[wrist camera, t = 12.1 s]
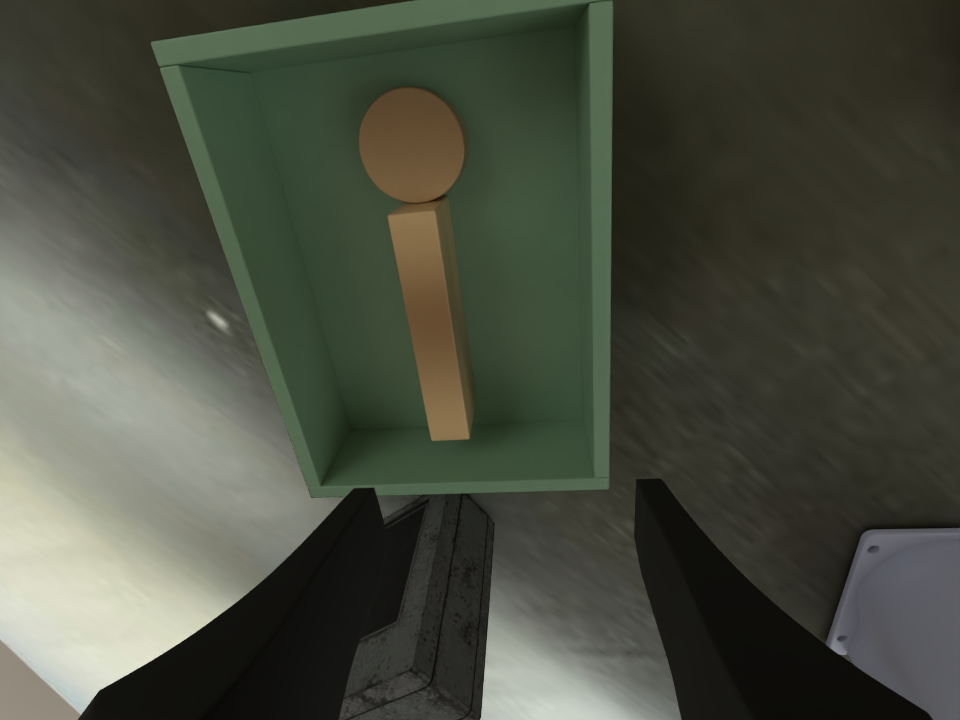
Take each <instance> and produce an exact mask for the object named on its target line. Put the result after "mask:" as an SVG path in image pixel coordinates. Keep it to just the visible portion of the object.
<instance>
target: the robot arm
mask: <svg viewBox="0 0 960 720" xmlns="http://www.w3.org/2000/svg"><path fill="white" fill-rule="evenodd" d="M634 537H635V543H636V548H637V553H638V559H639V564H640V569H641V574H642V577H643V581H644V584H645V587H646V590H647V594H648V597H649V600H650V604H651V607H652V610H653V613H654V617H655V620H656V623H657V626H658V630H659V633H660V636H661V639H662V642H663V646H664V649H665V652H666V655H667V659H668V662H669V666H670V670H671V674H672V677H673V682H674V686H675V691H676V696H677V700H678V705H679V710H680V714H681V719H682V720H960V528H926V529H873V530H868V531H866V532H864V533H863V534H862V536H861V538H860V541H859V544H858V547H857V550H856V553H855V556H854V559H853V562H852V565H851V568H850V571H849V574H848V577H847V580H846V583H845V587H844V590H843V593H842V596H841V599H840V602H839V605H838V608H837V611H836V614H835V617H834V620H833V623H832V626H831V629H830V632H829V635H828V638H827V641H826V644H824V643H823V642H822V641H820V640H819V639H818V638H816V637H815V636H814V635H813V634H811V633H810V632H809V631H807V630H806V629H805V628H804V627H802V626H801V625H800V624H798V623H797V622H796V621H794V620H793V619H792V618H791V617H790V616H789V615H787V614H786V613H785V612H784V611H783V610H781V609H780V608H779V607H778V606H777V605H776V604H774V603H773V602H772V601H771V600H770V599H769V598H768V597H767V596H765V595H764V594H763V593H762V592H761V591H760V590H759V589H758V588H757V587H756V586H754V585H753V584H752V583H751V582H750V581H749V580H748V579H747V578H746V577H745V576H744V575H743V574H742V573H741V572H740V571H739V570H738V569H737V568H736V567H735V566H734V565H733V564H732V563H731V562H730V561H729V560H728V559H727V558H726V557H725V556H724V555H723V553H722V552H721V551H720V550H719V549H718V548H717V547H716V546H715V545H714V544H713V542H712V541H711V540H710V539H709V538H708V537H707V536H706V534H705V533H704V532H703V531H702V530H701V529H700V528H699V526H698V525H697V524H696V523H695V522H694V520H693V519H692V518H691V517H690V516H689V514H688V513H687V512H686V511H685V509H684V508H683V507H682V506H681V504H680V503H679V502H678V500H677V499H676V498H675V496H674V495H673V494H672V492H671V491H670V490H669V488H668V487H667V485H666V484H665V482H663V481H662V480H661V479H636V501H635V530H634ZM388 541H389V539H388V536H387V532H386V528H385V525H384V521H383V517H382V514H381V510H380V506H379V503H378V499H377V496H376V492H375V488H354V489H353V490H352V491H351V492H350V493H349V494H348V495H347V496H346V497H345V498H344V499H343V500H342V501H341V502H340V503H339V505H338V506H337V507H336V508H335V509H334V510H333V511H332V512H331V513H330V514H329V515H328V516H327V518H326V519H325V520H324V521H323V522H322V523H321V524H320V525H319V526H318V527H317V528H316V529H315V530H314V531H313V533H312V534H311V535H310V536H309V537H308V538H307V539H306V540H305V541H304V542H303V543H302V544H301V545H300V546H299V547H298V548H297V549H296V550H295V551H294V552H293V553H292V554H291V555H290V556H289V557H288V558H287V559H286V560H285V561H284V562H283V563H281V564H280V565H279V566H278V567H277V568H276V569H275V570H274V571H273V572H272V573H271V574H270V575H269V576H268V577H266V578H265V579H264V580H263V581H262V582H261V583H260V584H258V585H257V586H256V587H255V588H254V589H252V590H251V591H250V592H249V593H248V594H246V595H245V596H244V597H243V598H242V599H240V600H239V601H238V602H236V603H235V604H234V605H233V606H231V607H230V608H229V609H227V610H226V611H224V612H223V613H222V614H220V615H219V616H218V617H216V618H215V619H214V620H212V621H211V622H210V623H208V624H207V625H206V626H204V627H203V628H201V629H200V630H199V631H197V632H196V633H194V634H193V635H191V636H190V637H188V638H187V639H185V640H184V641H182V642H181V643H179V644H178V645H176V646H175V647H173V648H171V649H170V650H168V651H167V652H165V653H164V654H162V655H160V656H159V657H157V658H156V659H154V660H152V661H151V662H149V663H147V664H146V665H144V666H142V667H140V668H139V669H137V670H135V671H133V672H132V673H130V674H128V675H126V676H125V677H123V678H121V679H119V680H118V681H116V682H114V683H112V684H111V685H109V686H107V687H105V688H103V689H101V690H100V691H99V692H98V693H97V694H96V696H95V697H94V698H93V700H92V701H91V702H90V704H89V705H88V707H87V708H86V709H85V711H84V712H83V713H82V715H81V716H80V717H79V719H78V720H339V717H340V712H341V708H342V704H343V699H344V695H345V691H346V687H347V682H348V678H349V674H350V670H351V667H352V663H353V660H354V657H355V653H356V650H357V647H358V645H359V642H360V639H361V636H362V633H363V630H364V627H365V624H366V621H367V618H368V615H369V612H370V609H371V606H372V603H373V600H374V597H375V594H376V591H377V588H378V585H379V582H380V579H381V576H382V571H383V566H384V562H385V557H386V552H387V546H388ZM840 655H848V656H849V657H850V659H851V661H852V663H853V664H854V665H853V664H852V663H850V662H849V661H848V660H846V659H845V658H843V657H842V656H840Z"/></svg>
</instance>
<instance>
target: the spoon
mask: <svg viewBox="0 0 960 720" xmlns="http://www.w3.org/2000/svg"><path fill="white" fill-rule="evenodd" d="M358 142H359V152H360V157H361V160H362V163H363V166H364V168H365V170H366V172H367V174H368V176H369V177H370V179H371V180H372V181H373V183H374V184H375V185H376V186H377V187H378V188H379V189H380V190H381V191H382V192H384V193H385V194H387V195H388V196H390V197H392V198H394V199H396V200H399V201H402V202H404V203H403V204H401V205H400V206H399V207H398V208H396V209H395V210H394V211H393V212H391V213H390V214H389V215H388V222H389V227H390V232H391V237H392V243H393V248H394V253H395V258H396V263H397V268H398V273H399V278H400V283H401V289H402V294H403V299H404V304H405V309H406V314H407V319H408V324H409V329H410V335H411V340H412V345H413V350H414V355H415V360H416V365H417V370H418V375H419V381H420V386H421V391H422V396H423V401H424V406H425V411H426V416H427V421H428V427H429V432H430V437H431V440H432V441H441V440H464V439H470V434H471V428H472V422H473V416H474V410H475V404H476V394H475V387H474V379H473V372H472V365H471V358H470V351H469V343H468V336H467V329H466V322H465V314H464V307H463V300H462V293H461V285H460V278H459V271H458V264H457V257H456V249H455V242H454V235H453V228H452V220H451V213H450V206H449V199H448V196H447V195H444V196H442V195H443V194H445V193H446V192H447V191H448V190H449V189H450V188H451V187H452V186H453V185H454V184H455V182H456V181H457V180H458V179H459V177H460V176H461V174H462V172H463V170H464V168H465V166H466V163H467V159H468V153H469V139H468V133H467V129H466V126H465V123H464V121H463V118H462V117H461V115H460V113H459V112H458V110H457V109H456V108H455V106H454V105H453V104H452V103H451V102H450V101H449V100H448V99H446V98H445V97H444V96H442V95H441V94H439V93H437V92H435V91H433V90H430V89H426V88H421V87H414V86H401V87H397V88H393V89H391V90H388V91H386V92H384V93H383V94H381V95H380V96H379V97H377V98H376V99H375V100H374V101H373V102H372V103H371V104H370V106H369V107H368V109H367V110H366V112H365V114H364V116H363V119H362V122H361V125H360V129H359V138H358Z"/></svg>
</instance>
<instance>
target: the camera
mask: <svg viewBox="0 0 960 720" xmlns="http://www.w3.org/2000/svg"><path fill="white" fill-rule="evenodd" d="M383 521H384V525H385V528H386V532H387V536H388V539H389V541H388V546H387V552H386V557H385V562H384V566H383V571H382V576H381V579H380V582H379V585H378V588H377V591H376V594H375V597H374V600H373V603H372V606H371V609H370V612H369V615H368V618H367V621H366V624H365V627H364V630H363V633H362V636H361V639H360V642H359V645H358V647H357V650H356V653H355V657H354V660H353V663H352V667H351V670H350V674H349V678H348V682H347V687H346V691H345V695H344V699H343V704H342V708H341V712H340V717H339V720H480V718H481V709H482V695H483V682H484V669H485V655H486V642H487V628H488V615H489V601H490V588H491V572H492V556H493V540H494V524H495V523H494V522H493V521H492V520H491V519H490V518H489V517H488V516H487V515H486V514H485V513H483V512H482V511H481V510H480V509H479V508H478V507H477V506H476V505H475V504H474V503H473V502H472V501H471V500H470V499H469V498H468V497H467V496H466V495H465V494H464V493H461V494H426V495H424V496H422V497H420V498H419V499H417V500H415V501H414V502H412V503H410V504H409V505H407V506H405V507H404V508H402V509H400V510H399V511H397V512H395V513H394V514H392V515H390V516H388V517H387V518H385V519H383Z"/></svg>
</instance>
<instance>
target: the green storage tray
mask: <svg viewBox="0 0 960 720" xmlns="http://www.w3.org/2000/svg"><path fill="white" fill-rule="evenodd" d="M151 46H152V48H153V51H154V54H155V57H156V60H157V63H158V65H159V66H160V67H161V68H160V71H161V74H162V77H163V80H164V83H165V85H166V88H167V91H168V94H169V97H170V100H171V102H172V105H173V108H174V111H175V114H176V117H177V119H178V122H179V125H180V128H181V131H182V134H183V136H184V139H185V142H186V145H187V148H188V151H189V153H190V156H191V159H192V162H193V165H194V168H195V170H196V173H197V176H198V179H199V182H200V185H201V187H202V190H203V193H204V196H205V199H206V202H207V204H208V207H209V210H210V213H211V216H212V219H213V221H214V224H215V227H216V230H217V233H218V236H219V238H220V241H221V244H222V247H223V250H224V253H225V255H226V258H227V261H228V264H229V267H230V270H231V272H232V275H233V278H234V281H235V284H236V287H237V289H238V292H239V295H240V298H241V301H242V304H243V306H244V309H245V312H246V315H247V318H248V321H249V323H250V326H251V329H252V332H253V335H254V338H255V341H256V343H257V346H258V349H259V352H260V355H261V358H262V360H263V363H264V366H265V369H266V372H267V375H268V377H269V380H270V383H271V386H272V389H273V392H274V394H275V397H276V400H277V403H278V406H279V409H280V411H281V414H282V417H283V420H284V423H285V426H286V428H287V431H288V434H289V437H290V440H291V443H292V445H293V448H294V451H295V454H296V457H297V460H298V462H299V465H300V468H301V471H302V474H303V477H304V479H305V482H306V485H307V487H308V490H309V493H310V496H311V498H322V497H346V496H347V495H348V494H349V493H350V492H351V491H352V490H353V489H354V488H375V492H376V496H392V495H426V494H461V493H496V492H531V491H566V490H601V489H609V468H610V346H611V225H612V103H613V1H612V0H413V1H406V2H400V3H394V4H387V5H381V6H375V7H368V8H362V9H356V10H349V11H343V12H337V13H330V14H324V15H318V16H311V17H305V18H299V19H292V20H286V21H280V22H273V23H267V24H261V25H254V26H248V27H242V28H235V29H229V30H223V31H216V32H210V33H203V34H197V35H191V36H184V37H178V38H172V39H165V40H159V41H153V42H151ZM401 86H414V87H421V88H426V89H430V90H433V91H435V92H437V93H439V94H441V95H442V96H444V97H445V98H446V99H448V100H449V101H450V102H451V103H452V104H453V105H454V106H455V108H456V109H457V110H458V112H459V113H460V115H461V117H462V118H463V121H464V123H465V126H466V129H467V133H468V139H469V153H468V159H467V163H466V166H465V168H464V170H463V172H462V174H461V176H460V177H459V179H458V180H457V181H456V182H455V184H454V185H453V186H452V187H451V188H450V189H449V190H448V191H447V192H446V193H445V194H443V195H442V196H444V195H447V196H448V199H449V206H450V213H451V220H452V228H453V235H454V242H455V249H456V257H457V264H458V271H459V278H460V285H461V293H462V300H463V307H464V314H465V322H466V329H467V336H468V343H469V351H470V358H471V365H472V372H473V379H474V387H475V394H476V404H475V410H474V416H473V422H472V428H471V434H470V439H464V440H441V441H432V440H431V437H430V432H429V427H428V421H427V416H426V411H425V406H424V401H423V396H422V391H421V386H420V381H419V375H418V370H417V365H416V360H415V355H414V350H413V345H412V340H411V335H410V329H409V324H408V319H407V314H406V309H405V304H404V299H403V294H402V289H401V283H400V278H399V273H398V268H397V263H396V258H395V253H394V248H393V243H392V237H391V232H390V227H389V222H388V215H389V214H390V213H391V212H393V211H394V210H395V209H396V208H398V207H399V206H400V205H401V204H403V203H404V202H402V201H399V200H396V199H394V198H392V197H390V196H388V195H387V194H385V193H384V192H382V191H381V190H380V189H379V188H378V187H377V186H376V185H375V184H374V183H373V181H372V180H371V179H370V177H369V176H368V174H367V172H366V170H365V168H364V166H363V163H362V160H361V157H360V152H359V142H358V138H359V129H360V125H361V122H362V119H363V116H364V114H365V112H366V110H367V109H368V107H369V106H370V104H371V103H372V102H373V101H374V100H375V99H376V98H377V97H379V96H380V95H381V94H383V93H384V92H386V91H388V90H391V89H393V88H397V87H401Z"/></svg>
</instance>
